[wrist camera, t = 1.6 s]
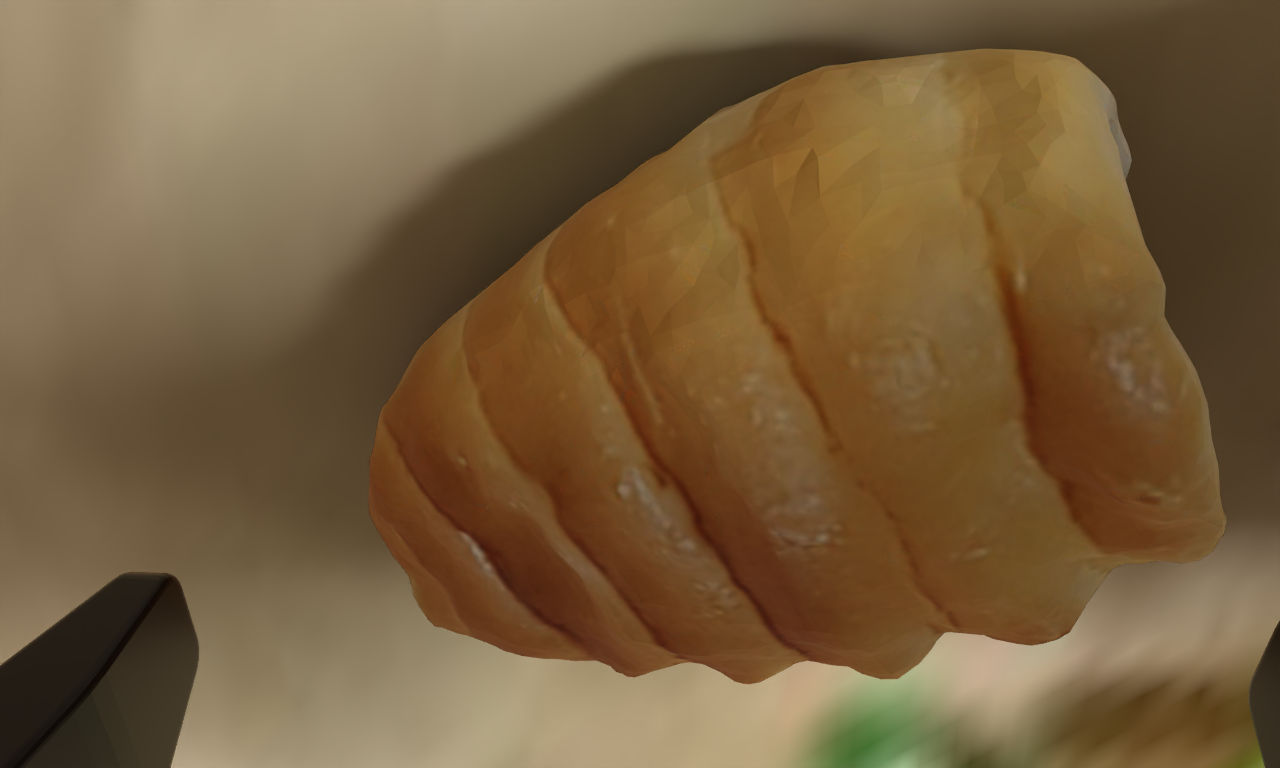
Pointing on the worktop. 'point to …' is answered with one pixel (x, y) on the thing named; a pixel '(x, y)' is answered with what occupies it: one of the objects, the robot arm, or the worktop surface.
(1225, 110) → the worktop surface
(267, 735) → the worktop surface
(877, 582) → the pastry
